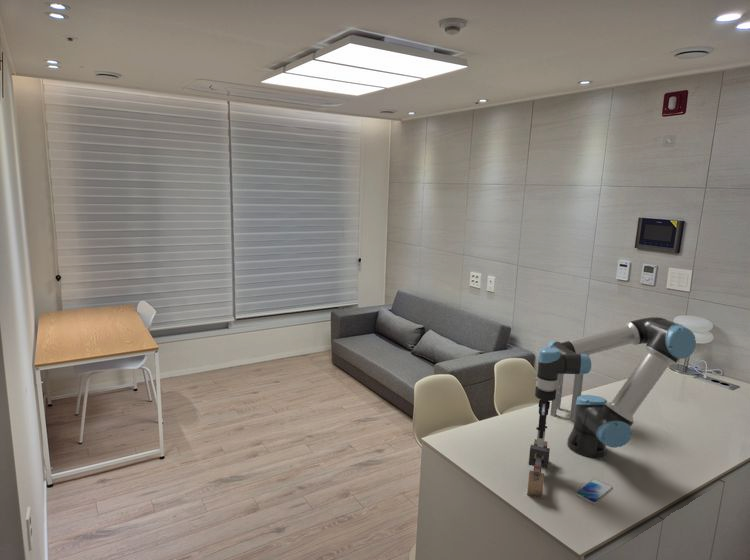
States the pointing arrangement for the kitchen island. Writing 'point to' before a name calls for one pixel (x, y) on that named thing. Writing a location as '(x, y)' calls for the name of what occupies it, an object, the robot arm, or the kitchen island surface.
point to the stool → (576, 393)
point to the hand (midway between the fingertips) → (540, 444)
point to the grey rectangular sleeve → (541, 451)
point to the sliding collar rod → (536, 475)
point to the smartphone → (594, 490)
